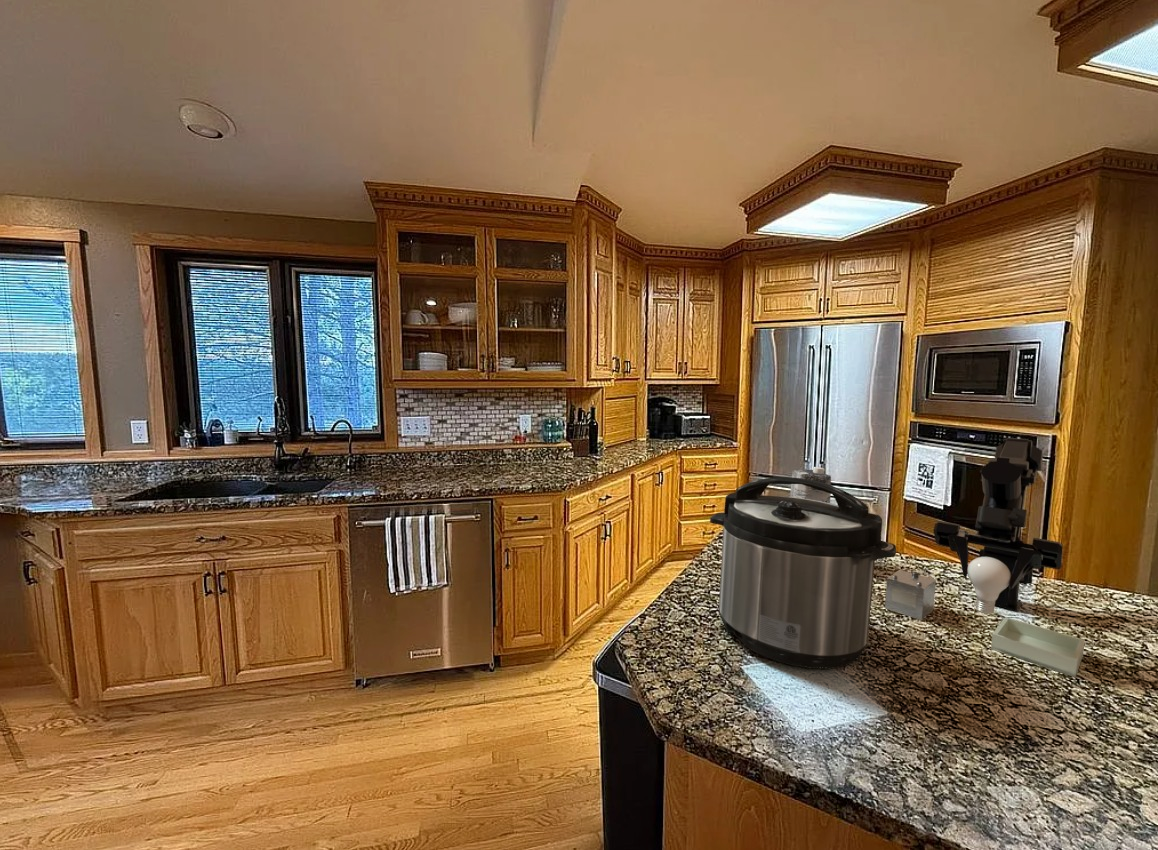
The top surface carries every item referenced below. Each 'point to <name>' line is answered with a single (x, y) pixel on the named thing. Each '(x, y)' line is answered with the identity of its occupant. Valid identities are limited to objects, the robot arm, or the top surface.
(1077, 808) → the top surface
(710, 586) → the top surface
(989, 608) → the lightbulb
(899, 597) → the block
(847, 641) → the pressure cooker
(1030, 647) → the tray
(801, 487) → the juice carton
